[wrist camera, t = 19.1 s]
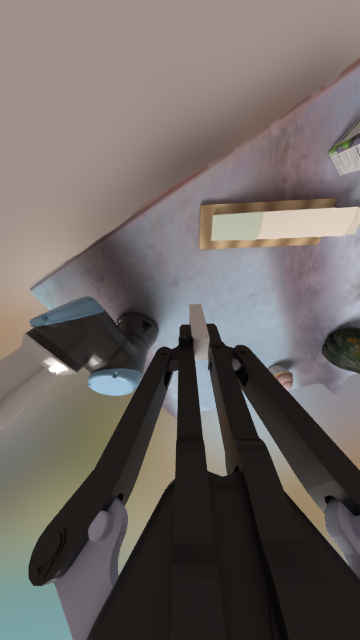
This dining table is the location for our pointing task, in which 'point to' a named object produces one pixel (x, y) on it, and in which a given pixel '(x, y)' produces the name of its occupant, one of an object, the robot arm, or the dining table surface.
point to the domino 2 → (271, 224)
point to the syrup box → (347, 151)
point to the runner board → (235, 208)
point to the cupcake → (282, 375)
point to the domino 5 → (340, 221)
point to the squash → (344, 349)
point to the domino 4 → (318, 222)
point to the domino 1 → (236, 226)
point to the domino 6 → (354, 224)
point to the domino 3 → (295, 223)
